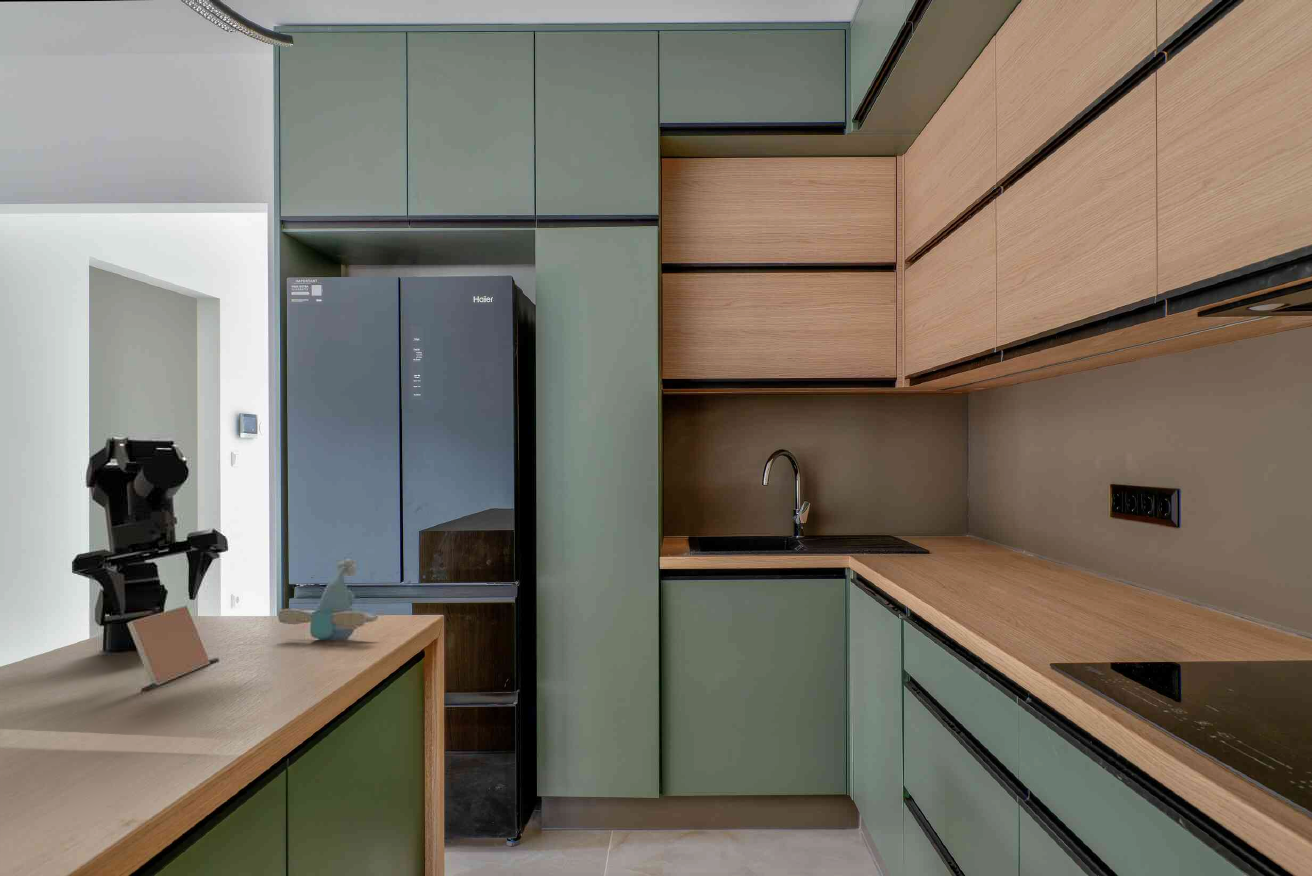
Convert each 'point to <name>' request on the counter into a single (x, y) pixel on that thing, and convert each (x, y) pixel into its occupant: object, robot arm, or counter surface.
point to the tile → (168, 644)
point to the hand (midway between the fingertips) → (157, 607)
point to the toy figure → (331, 610)
